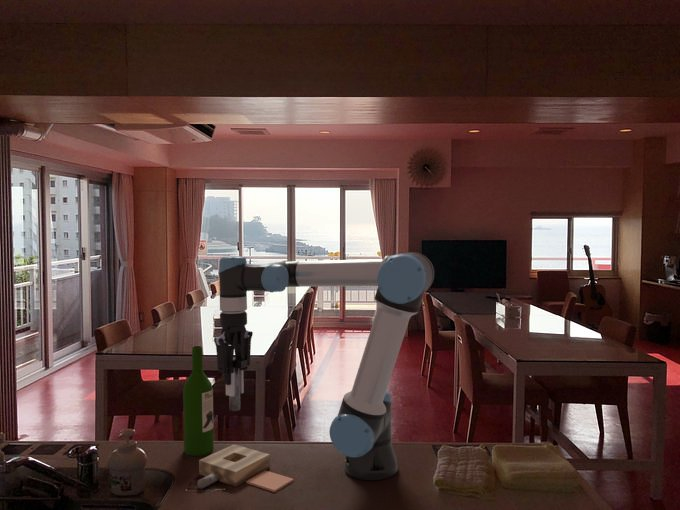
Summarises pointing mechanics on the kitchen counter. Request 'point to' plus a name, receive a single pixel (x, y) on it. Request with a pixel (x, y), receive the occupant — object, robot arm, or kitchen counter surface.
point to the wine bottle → (198, 409)
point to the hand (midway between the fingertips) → (234, 393)
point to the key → (236, 383)
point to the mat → (270, 481)
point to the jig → (232, 466)
